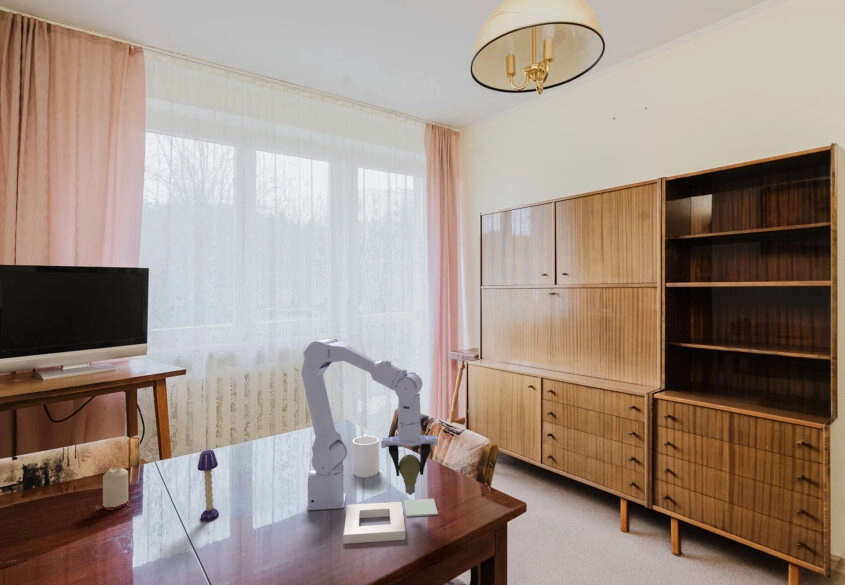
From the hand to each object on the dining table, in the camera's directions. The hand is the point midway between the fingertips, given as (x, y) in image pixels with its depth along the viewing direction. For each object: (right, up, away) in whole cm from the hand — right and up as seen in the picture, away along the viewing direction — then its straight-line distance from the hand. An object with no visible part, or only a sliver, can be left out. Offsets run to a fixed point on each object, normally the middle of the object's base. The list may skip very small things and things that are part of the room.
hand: (409, 473), depth 112 cm
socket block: (-8, -10, -6) cm, 14 cm away
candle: (-79, -11, +4) cm, 80 cm away
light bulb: (0, -5, 0) cm, 5 cm away
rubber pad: (+3, -10, +2) cm, 10 cm away
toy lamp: (-51, -10, -2) cm, 52 cm away
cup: (-15, -10, +27) cm, 33 cm away
